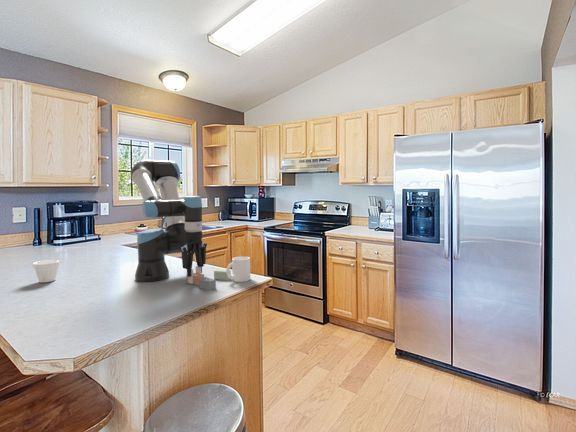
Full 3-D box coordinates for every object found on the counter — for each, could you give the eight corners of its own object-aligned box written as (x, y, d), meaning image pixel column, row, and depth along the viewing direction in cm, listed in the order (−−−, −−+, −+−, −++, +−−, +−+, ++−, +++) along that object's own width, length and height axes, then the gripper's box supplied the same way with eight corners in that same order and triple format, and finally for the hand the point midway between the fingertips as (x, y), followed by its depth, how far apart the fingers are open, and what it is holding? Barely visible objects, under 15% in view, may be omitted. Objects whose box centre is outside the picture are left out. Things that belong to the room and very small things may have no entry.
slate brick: (199, 287, 138) (198, 278, 138) (205, 285, 141) (205, 276, 140) (209, 290, 134) (208, 281, 133) (215, 288, 136) (215, 279, 136)
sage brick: (214, 279, 151) (213, 271, 150) (217, 277, 154) (217, 269, 154) (227, 280, 149) (227, 271, 149) (230, 278, 152) (230, 270, 152)
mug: (231, 285, 140) (230, 262, 139) (222, 281, 147) (221, 259, 146) (253, 280, 148) (253, 258, 147) (244, 276, 154) (243, 255, 153)
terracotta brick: (186, 283, 144) (186, 274, 144) (192, 281, 148) (192, 272, 147) (199, 285, 141) (198, 276, 141) (204, 283, 145) (204, 274, 144)
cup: (65, 279, 152) (63, 260, 151) (41, 285, 143) (40, 265, 142) (52, 277, 156) (51, 258, 155) (29, 283, 147) (27, 263, 146)
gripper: (183, 233, 133) (185, 288, 136) (213, 229, 147) (214, 278, 149) (172, 232, 137) (173, 285, 140) (202, 227, 151) (203, 276, 154)
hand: (194, 281), depth 145 cm, fingers closed on terracotta brick, 4 cm apart
